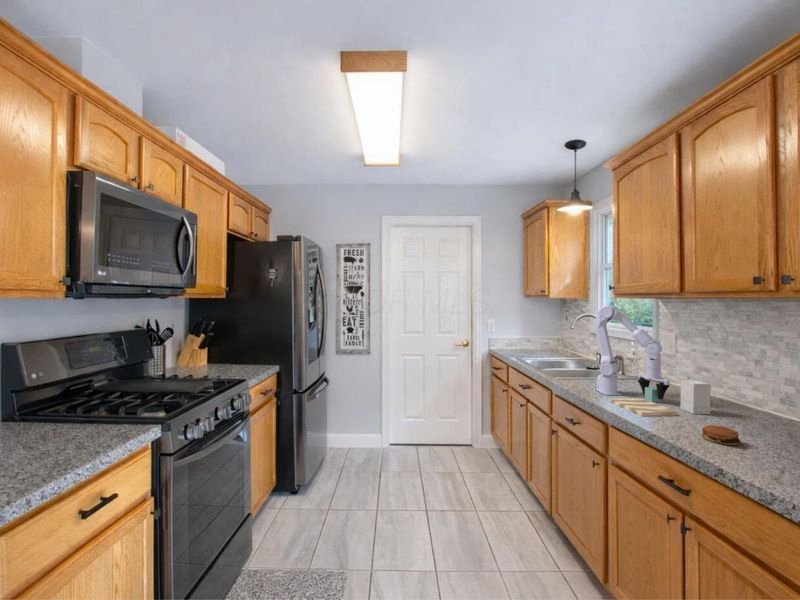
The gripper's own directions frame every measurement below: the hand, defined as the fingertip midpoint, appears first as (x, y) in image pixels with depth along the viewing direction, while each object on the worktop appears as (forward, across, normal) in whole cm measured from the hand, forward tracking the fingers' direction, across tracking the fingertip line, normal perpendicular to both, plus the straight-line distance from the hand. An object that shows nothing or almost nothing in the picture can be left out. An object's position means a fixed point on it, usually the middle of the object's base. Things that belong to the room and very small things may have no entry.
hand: (652, 396), depth 170 cm
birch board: (+2, +8, -16) cm, 18 cm away
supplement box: (+2, +17, +3) cm, 17 cm away
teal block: (+2, 0, 0) cm, 2 cm away
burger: (+2, +44, -22) cm, 49 cm away
